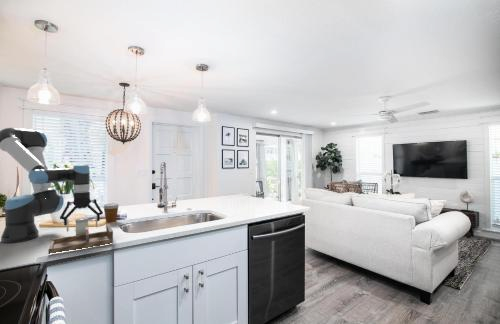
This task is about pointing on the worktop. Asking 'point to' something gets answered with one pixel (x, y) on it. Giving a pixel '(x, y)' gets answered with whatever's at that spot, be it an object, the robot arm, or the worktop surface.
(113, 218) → the disposable coffee cup
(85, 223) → the jar
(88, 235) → the pusher
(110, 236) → the brown wooden tray
